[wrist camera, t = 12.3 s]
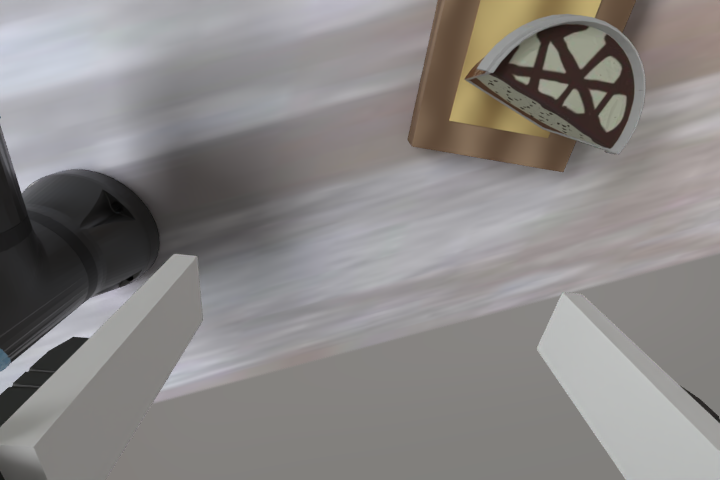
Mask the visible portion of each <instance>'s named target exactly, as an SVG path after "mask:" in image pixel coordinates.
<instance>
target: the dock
mask: <svg viewBox="0 0 720 480" xmlns="http://www.w3.org/2000/svg"><path fill="white" fill-rule="evenodd" d="M635 2H636V0H438V2H437V7H436V11H435V16H434V21H433V25H432V30H431V34H430V39H429V44H428V48H427V53H426V57H425V62H424V67H423V71H422V76H421V80H420V85H419V90H418V94H417V99H416V103H415V108H414V112H413V117H412V122H411V126H410V131H409V135H408V141H409V143H410V144H411V145H412V146H413V147H419V148H425V149H431V150H437V151H442V152H448V153H454V154H460V155H466V156H472V157H477V158H483V159H489V160H495V161H501V162H506V163H512V164H518V165H524V166H530V167H536V168H541V169H547V170H553V171H559V172H563V171H564V169H565V167H566V164H567V162H568V160H569V157H570V155H571V153H572V150H573V148H574V146H575V143H576V140H573V139H570V138H567V137H564V136H561V135H558V134H555V133H552V132H549V131H546V130H543V129H541V128H540V127H538V126H537V125H535V124H534V123H532V122H530V121H529V120H527V119H526V118H524V117H522V116H521V115H519V114H518V113H516V112H515V111H513V110H511V109H510V108H508V107H507V106H505V105H504V104H502V103H500V102H499V101H497V100H496V99H494V98H492V97H491V96H489V95H488V94H486V93H485V92H483V91H481V90H480V89H478V88H477V87H475V86H474V85H472V84H470V83H469V82H467V81H466V80H464V79H465V77H466V76H467V74H468V73H469V72H470V70H471V69H472V68H473V67H474V66H475V65H476V64H477V63H478V62H479V61H480V60H482V59H483V58H484V57H485V56H486V55H487V54H488V53H489V52H490V51H491V49H492V48H493V47H494V46H495V45H496V44H497V43H498V42H500V41H501V40H502V39H503V38H504V37H506V36H507V35H508V34H509V33H511V32H513V31H514V30H516V29H517V28H519V27H521V26H522V25H524V24H527V23H529V22H531V21H534V20H536V19H539V18H543V17H547V16H551V15H560V14H573V15H582V16H588V17H593V18H596V19H599V20H602V21H605V22H607V23H609V24H610V25H612V26H614V27H615V28H617V29H618V30H619V31H620V32H621V33H623V30H624V28H625V26H626V23H627V21H628V18H629V16H630V14H631V11H632V9H633V7H634V4H635Z"/></svg>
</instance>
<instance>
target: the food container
mask: <svg viewBox="0 0 720 480" xmlns="http://www.w3.org/2000/svg"><path fill="white" fill-rule="evenodd" d="M464 80H466V81H467V82H469V83H470V84H472V85H474V86H475V87H477V88H478V89H480V90H481V91H483V92H485V93H486V94H488V95H489V96H491V97H492V98H494V99H496V100H497V101H499V102H500V103H502V104H504V105H505V106H507V107H508V108H510V109H511V110H513V111H515V112H516V113H518V114H519V115H521V116H522V117H524V118H526V119H527V120H529V121H530V122H532V123H534V124H535V125H537V126H538V127H540V128H541V129H543V130H546V131H549V132H552V133H555V134H558V135H561V136H564V137H567V138H570V139H573V140H576V141H579V142H582V143H585V144H588V145H591V146H594V147H597V148H600V149H603V150H605V152H606V153H611V154H620V152H621V151H622V150H623V148H624V147H625V146H626V144H627V143H628V141H629V140H630V138H631V136H632V134H633V133H634V131H635V129H636V126H637V124H638V122H639V119H640V116H641V113H642V109H643V105H644V99H645V91H646V87H645V73H644V69H643V64H642V61H641V59H640V56H639V54H638V52H637V50H636V49H635V47H634V46H633V44H632V43H631V41H630V40H629V39H628V38H627V37H626V36H625V35H624V34H623V33H621V32H620V31H619V30H618V29H617V28H615V27H614V26H612V25H610V24H609V23H607V22H605V21H602V20H599V19H596V18H593V17H588V16H582V15H573V14H560V15H551V16H547V17H543V18H539V19H536V20H534V21H531V22H529V23H527V24H524V25H522V26H521V27H519V28H517V29H516V30H514V31H513V32H511V33H509V34H508V35H507V36H506V37H504V38H503V39H502V40H501V41H500V42H498V43H497V44H496V45H495V46H494V47H493V48H492V49H491V51H490V52H489V53H488V54H487V55H486V56H485V57H484V58H483V59H482V60H480V61H479V62H478V63H477V64H476V65H475V66H474V67H473V68H472V69H471V70H470V72H469V73H468V74H467V76H466V77H465V79H464Z"/></svg>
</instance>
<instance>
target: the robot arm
mask: <svg viewBox="0 0 720 480" xmlns="http://www.w3.org/2000/svg"><path fill="white" fill-rule="evenodd" d="M0 118H1V117H0ZM158 250H159V235H158V230H157V227H156V224H155V222H154V219H153V217H152V215H151V214H150V212H149V210H148V209H147V208H146V206H145V205H144V204H143V202H142V201H141V200H140V199H139V198H138V197H137V196H136V195H135V194H134V193H133V192H132V191H130V190H129V189H128V188H127V187H125V186H124V185H122V184H121V183H119V182H117V181H116V180H114V179H112V178H110V177H108V176H105V175H103V174H100V173H96V172H93V171H88V170H65V171H61V172H58V173H54V174H51V175H48V176H45V177H42V178H40V179H38V180H36V181H35V182H33V183H32V184H31V185H29V186H28V187H27V188H26V189H25V191H24V192H23V193H22V194H21V191H20V187H19V184H18V181H17V178H16V174H15V171H14V168H13V165H12V161H11V158H10V155H9V152H8V149H7V145H6V142H5V139H4V136H3V132H2V129H1V126H0V371H2V370H4V369H5V368H6V367H7V366H9V364H10V363H11V362H13V361H14V360H15V359H16V358H18V357H19V356H20V355H21V354H22V353H24V352H25V351H26V350H27V349H28V348H30V347H31V346H32V345H33V344H34V343H36V342H37V341H38V340H39V339H40V338H42V337H43V336H44V335H45V334H47V333H48V332H49V331H50V330H51V329H53V328H54V327H55V326H56V325H57V324H59V323H60V322H61V321H62V320H63V319H65V318H66V317H67V316H68V315H69V314H71V313H72V312H73V311H74V310H76V309H77V308H78V307H79V306H80V305H81V304H83V303H84V302H85V301H87V300H88V299H89V298H91V297H94V296H97V295H100V294H103V293H105V292H108V291H111V290H114V289H117V288H119V287H122V286H125V285H127V284H129V283H131V282H133V281H135V280H136V279H137V278H139V277H140V276H141V275H142V274H143V273H144V272H146V271H147V270H148V269H149V268H150V267H151V266H152V264H153V263H154V261H155V259H156V257H157V254H158ZM202 321H203V316H202V304H201V292H200V281H199V269H198V257H197V256H192V255H182V254H173V255H172V256H171V257H170V258H169V259H168V260H167V261H166V262H165V263H164V264H163V265H162V266H161V267H160V268H159V269H158V270H157V271H156V272H155V273H154V274H153V275H152V276H151V277H150V278H149V279H148V280H147V281H146V282H145V283H144V284H143V285H142V286H141V287H140V288H139V289H138V290H137V291H136V292H135V293H134V294H133V295H132V296H131V297H130V298H129V299H128V300H127V301H126V302H125V303H124V304H123V305H122V306H121V307H120V308H119V309H118V310H117V311H116V312H115V313H114V314H113V315H112V316H111V317H110V318H109V319H108V320H107V321H106V322H105V323H104V324H103V325H102V326H101V327H100V328H99V329H98V330H97V331H96V332H95V333H94V334H93V335H92V336H91V337H90V338H81V337H73V338H71V339H69V340H67V341H65V342H64V343H62V344H60V345H58V346H57V347H55V348H53V349H51V350H50V351H48V352H47V353H46V354H45V355H44V356H43V357H42V358H40V359H39V360H38V361H37V362H36V363H35V364H34V365H33V366H32V367H30V370H29V371H28V372H25V373H24V374H23V375H22V376H21V377H19V378H18V379H17V380H16V381H15V382H14V383H13V386H12V387H8V388H7V389H6V390H5V391H4V392H3V393H2V394H1V395H0V480H106V479H107V477H108V476H109V474H110V472H111V471H112V469H113V467H114V466H115V464H116V462H117V461H118V459H119V457H120V456H121V454H122V453H123V451H124V449H125V448H126V446H127V444H128V443H129V441H130V439H131V438H132V436H133V434H134V433H135V431H136V430H137V428H138V426H139V425H140V423H141V421H142V420H143V418H144V416H145V415H146V413H147V412H148V410H149V408H150V407H151V405H152V403H153V402H154V400H155V398H156V397H157V395H158V393H159V392H160V390H161V389H162V387H163V385H164V384H165V382H166V380H167V379H168V377H169V375H170V374H171V372H172V370H173V369H174V367H175V366H176V364H177V362H178V361H179V359H180V357H181V356H182V354H183V352H184V351H185V349H186V347H187V346H188V344H189V343H190V341H191V339H192V338H193V336H194V334H195V333H196V331H197V329H198V328H199V326H200V324H201V323H202ZM537 350H538V352H539V353H540V355H541V356H542V358H543V359H544V361H545V362H546V363H547V365H548V366H549V368H550V369H551V371H552V372H553V374H554V375H555V377H556V378H557V380H558V381H559V382H560V384H561V385H562V387H563V388H564V390H565V391H566V393H567V394H568V396H569V397H570V399H571V400H572V402H573V403H574V404H575V406H576V407H577V409H578V410H579V411H580V413H581V415H582V416H583V418H584V419H585V421H586V422H587V423H588V425H589V426H590V428H591V429H592V431H593V432H594V434H595V435H596V437H597V438H598V440H599V441H600V443H601V444H602V445H603V447H604V448H605V450H606V451H607V453H608V454H609V456H610V457H611V458H612V460H613V461H614V463H615V464H616V466H617V467H618V469H619V470H620V472H621V473H622V475H623V476H624V478H625V479H626V480H720V419H719V416H718V415H717V414H716V413H714V412H713V411H712V410H711V409H710V408H709V407H708V406H707V405H706V404H705V403H703V401H701V400H700V399H699V398H698V397H696V396H695V395H693V394H692V393H690V392H689V391H687V390H686V389H684V388H683V387H681V386H680V385H679V384H677V383H676V382H675V381H674V380H673V379H672V378H671V377H670V376H669V375H668V374H667V373H666V372H665V371H663V370H662V369H661V368H660V367H659V366H658V365H657V364H656V363H655V362H654V361H653V360H651V358H650V357H648V356H647V355H646V354H645V353H644V352H643V351H642V350H641V349H640V348H639V347H638V346H637V345H636V344H635V343H634V342H633V341H631V340H630V339H629V338H628V337H627V336H626V335H625V334H624V333H623V332H622V331H621V330H620V329H619V328H618V327H617V326H616V325H614V324H613V323H612V322H611V321H610V320H609V319H608V318H607V317H606V316H605V315H604V314H603V313H602V312H600V310H598V309H597V308H596V307H595V306H594V305H593V304H592V303H591V302H590V301H589V300H588V299H587V298H586V297H585V296H584V295H582V294H576V293H566V292H562V294H561V297H560V299H559V301H558V303H557V305H556V308H555V310H554V312H553V314H552V316H551V319H550V321H549V323H548V325H547V327H546V330H545V332H544V334H543V336H542V338H541V340H540V343H539V345H538V347H537Z"/></svg>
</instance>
